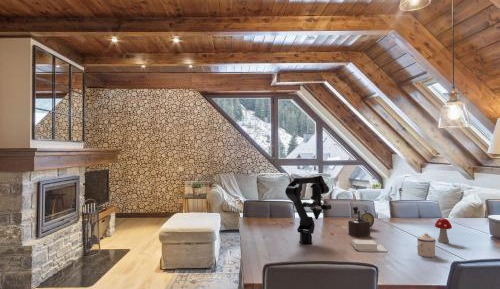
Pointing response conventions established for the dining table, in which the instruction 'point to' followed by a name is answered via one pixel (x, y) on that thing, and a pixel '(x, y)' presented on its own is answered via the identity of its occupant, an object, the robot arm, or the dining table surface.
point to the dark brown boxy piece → (358, 226)
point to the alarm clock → (367, 217)
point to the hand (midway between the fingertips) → (316, 219)
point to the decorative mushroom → (443, 230)
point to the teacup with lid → (426, 245)
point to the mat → (379, 249)
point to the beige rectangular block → (364, 244)
